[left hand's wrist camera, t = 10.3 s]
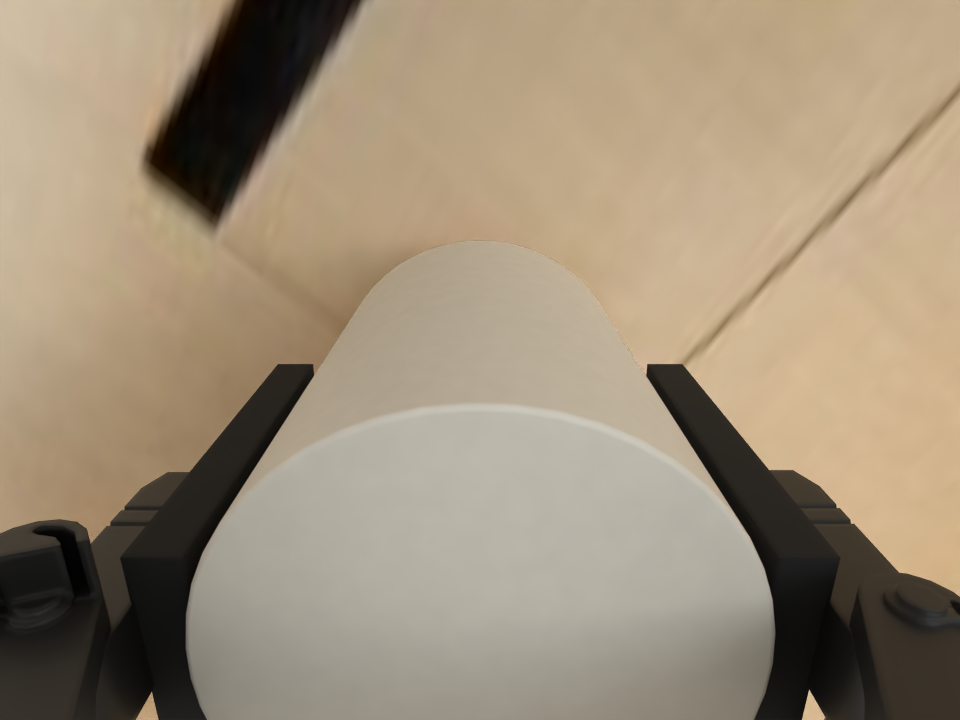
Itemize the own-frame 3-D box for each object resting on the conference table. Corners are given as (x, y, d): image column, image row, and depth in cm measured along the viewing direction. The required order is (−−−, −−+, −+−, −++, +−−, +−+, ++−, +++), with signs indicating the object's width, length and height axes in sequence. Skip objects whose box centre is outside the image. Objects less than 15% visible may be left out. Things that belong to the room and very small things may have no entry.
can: (531, 534, 19) (578, 922, 10) (299, 428, 17) (106, 758, 8) (672, 323, 16) (907, 573, 7) (417, 185, 15) (326, 283, 6)
